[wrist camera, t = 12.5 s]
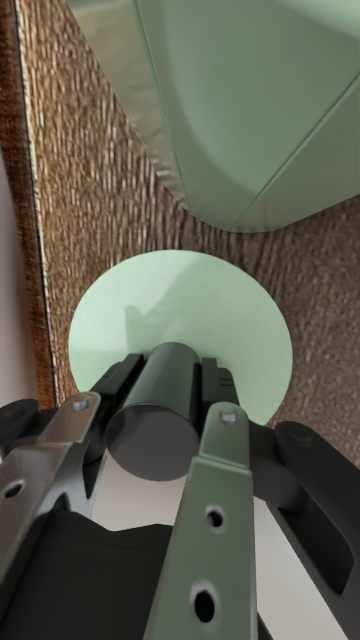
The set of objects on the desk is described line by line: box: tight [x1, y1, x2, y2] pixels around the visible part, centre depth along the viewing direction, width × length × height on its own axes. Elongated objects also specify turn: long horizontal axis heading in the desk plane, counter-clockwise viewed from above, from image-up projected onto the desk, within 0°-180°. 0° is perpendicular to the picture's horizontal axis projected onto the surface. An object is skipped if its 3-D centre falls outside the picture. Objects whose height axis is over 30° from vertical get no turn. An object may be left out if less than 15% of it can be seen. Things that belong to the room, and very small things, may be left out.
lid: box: [68, 249, 293, 482], centre depth 9 cm, size 13×13×6 cm
